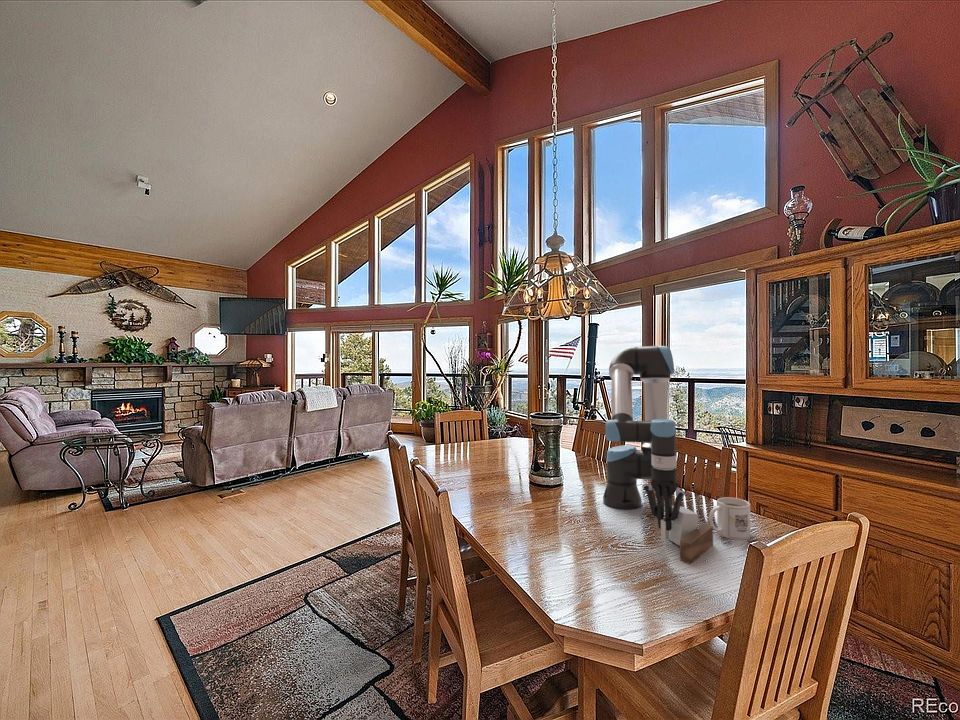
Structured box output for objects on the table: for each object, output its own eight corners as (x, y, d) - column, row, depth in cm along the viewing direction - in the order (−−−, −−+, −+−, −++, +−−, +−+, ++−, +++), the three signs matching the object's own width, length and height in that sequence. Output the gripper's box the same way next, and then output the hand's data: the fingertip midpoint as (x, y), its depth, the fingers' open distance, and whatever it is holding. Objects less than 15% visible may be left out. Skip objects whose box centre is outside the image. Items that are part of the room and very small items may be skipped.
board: (680, 561, 134) (680, 541, 134) (703, 542, 146) (702, 524, 146) (690, 564, 132) (690, 544, 132) (713, 545, 144) (712, 526, 144)
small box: (695, 547, 143) (699, 514, 143) (679, 546, 142) (683, 513, 142) (679, 537, 151) (683, 506, 151) (664, 536, 150) (668, 504, 150)
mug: (750, 543, 145) (749, 509, 145) (708, 536, 151) (708, 503, 151) (750, 531, 154) (750, 499, 154) (711, 525, 160) (711, 494, 160)
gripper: (639, 466, 148) (640, 537, 149) (679, 473, 139) (680, 548, 139) (649, 461, 153) (650, 530, 154) (688, 468, 144) (690, 541, 144)
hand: (665, 539), depth 147 cm, fingers closed
